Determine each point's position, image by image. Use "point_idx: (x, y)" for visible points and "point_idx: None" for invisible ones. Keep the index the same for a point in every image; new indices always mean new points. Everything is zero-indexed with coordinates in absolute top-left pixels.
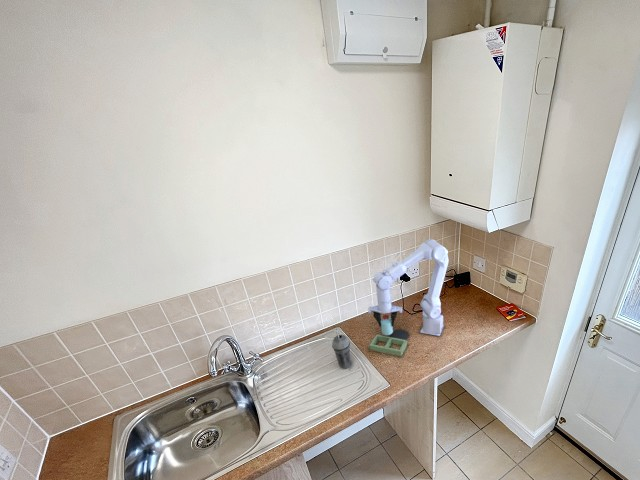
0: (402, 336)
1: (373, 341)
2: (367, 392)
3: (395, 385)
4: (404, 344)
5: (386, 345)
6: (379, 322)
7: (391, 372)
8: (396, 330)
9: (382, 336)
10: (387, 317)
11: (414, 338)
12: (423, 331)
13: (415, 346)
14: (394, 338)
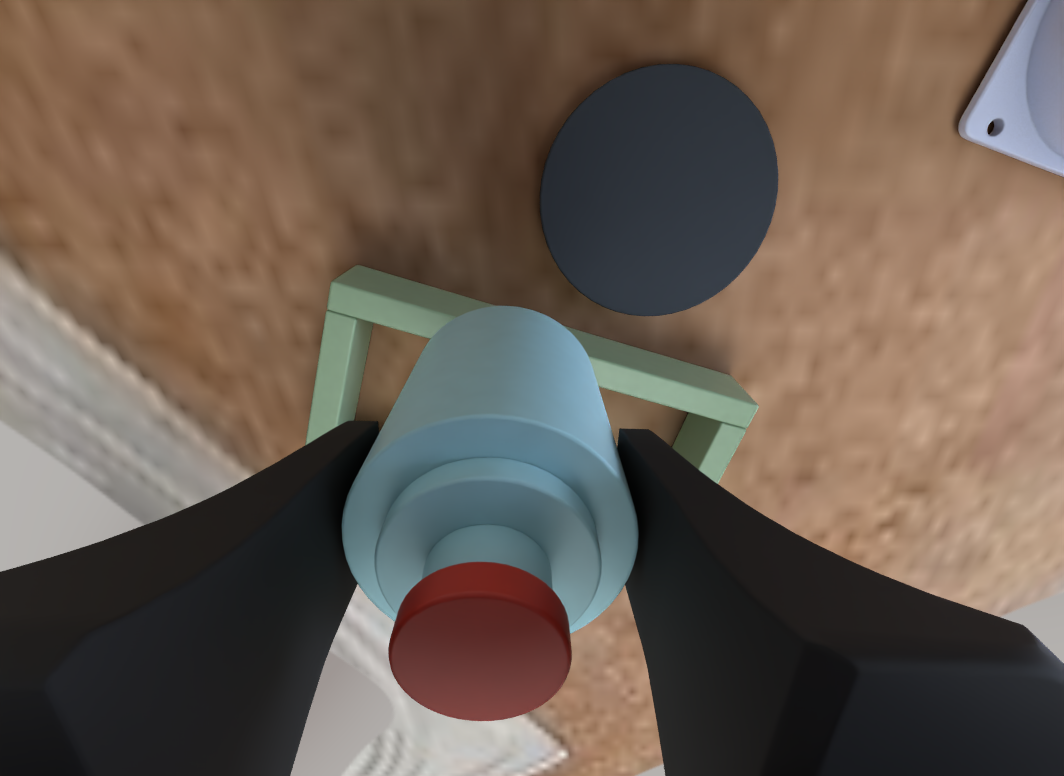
0: (693, 237)
1: (331, 425)
2: None
3: (603, 754)
4: (719, 476)
5: None
6: (332, 612)
7: (570, 672)
8: (613, 85)
9: (429, 329)
10: (539, 695)
11: (839, 256)
12: (1014, 122)
13: (819, 396)
14: (599, 372)
